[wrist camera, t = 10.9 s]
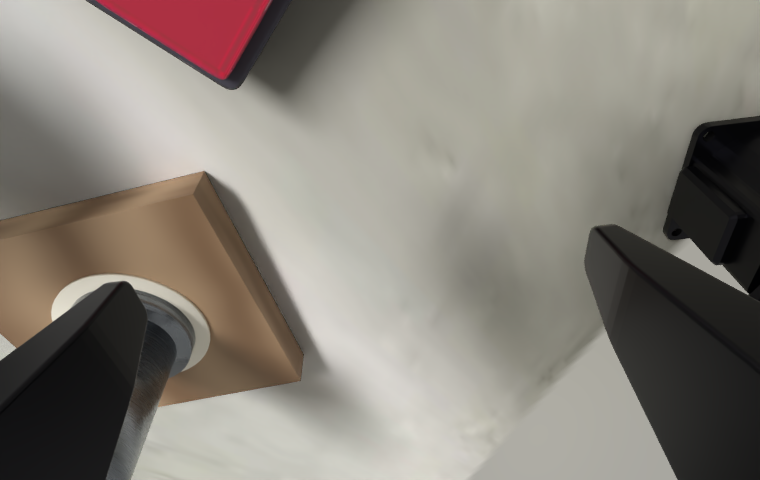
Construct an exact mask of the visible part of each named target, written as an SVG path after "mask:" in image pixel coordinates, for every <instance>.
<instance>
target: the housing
mask: <svg viewBox="0 0 760 480" xmlns="http://www.w3.org/2000/svg"><path fill="white" fill-rule="evenodd" d="M94 291H95V290H94ZM135 291H136V293H137V295H138V296H139V298H140V300H141V301H142V303H143V305H144V306H145V308H146V311H147V316H148V320H147V326H146V331H145V336H144V342H143V347H142V352H141V357H140V362H139V367H138V372H137V378H136V382H135V386H134V390H133V394H132V397H131V401H130V404H129V407H128V411H127V414H126V417H125V420H124V423H123V427H122V430H121V433H120V436H119V439H118V443H117V446H116V449H115V452H114V455H113V459H112V462H111V465H110V468H109V471H108V475H107V478H106V480H131V477H132V475H133V472H134V469H135V467H136V464H137V461H138V458H139V456H140V453H141V450H142V448H143V445H144V442H145V440H146V437H147V434H148V432H149V429H150V426H151V423H152V421H153V418H154V415H155V413H156V410H157V407H158V405H159V402H160V399H161V396H162V394H163V391H164V388H165V386H166V383H167V380H168V378H171V377H173V376H175V375H177V374H178V373H180V372H181V371H182V370H183V369H184V368H185V367H186V366H187V364H188V362H189V360H190V357H191V354H192V351H193V348H194V345H195V338H196V337H195V331H194V328H193V326H192V324H191V322H190V321H189V319H188V318H187V317H186V316H185V315H184V314H183V313H182V312H181V311H180V310H179V309H178V308H177V307H175V306H174V305H172V304H171V303H169V302H168V301H166V300H164V299H162V298H160V297H157V296H155V295H153V294H150V293H147V292H143V291H139V290H135ZM92 292H93V291H92ZM92 292H89V293H87V294H85V295H83V296H81V297H80V298H79V299H77V300H76V302H75V303H74V304H73V305H72V307H73V306H75V305H76V304H77V303H79V302H80V301H81V300H83V299H84V298H85V297H87V296H88V295H89V294H91V293H92ZM72 307H71V308H72ZM71 308H70V309H71Z"/></svg>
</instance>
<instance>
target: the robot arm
mask: <svg viewBox="0 0 760 480" xmlns="http://www.w3.org/2000/svg"><path fill="white" fill-rule="evenodd" d="M707 132H709V134H708V135H707V136H706V137H703V136H704V135H705V134H706V133H707ZM675 229H676V230H675ZM674 230H675V231H674ZM663 232H664V234H665V235H666V236H667V238H668V239H670V240H677V239H686V238H690V239H691V240H692V241H693V242H694V243H695V244H696V245H697V247H698V248H699V249H700V250H701V251H702V252H703V253H704V254H705V256H706V257H707V258H708V259H709V260H710V261H711V262H712V263H713V264H715V265H723V266H724V267H725V268H726V270H727V271H728V272H730V274H731V275H732V276H733V277H734V278H735V279H736V280H737V282H738V283H739V284H740V285H741V286H742V287H743V288H744V289H745V290H746V291H747V292H748V293H749V295H747V294H745V293H743V292H741V291H739V290H737V289H735V288H733V287H732V286H730V285H728V284H726V283H724V282H722V281H720V280H719V279H717V278H715V277H713V276H711V275H709V274H707V273H706V272H704V271H702V270H700V269H698V268H696V267H694V266H692V265H691V264H689V263H687V262H685V261H683V260H681V259H679V258H678V257H676V256H674V255H672V254H670V253H668V252H666V251H665V250H663V249H661V248H659V247H657V246H655V245H653V244H652V243H650V242H648V241H646V240H644V239H642V238H640V237H638V236H637V235H635V234H633V233H631V232H629V231H627V230H625V229H624V228H622V227H620V226H618V225H615V224H609V225H600V226H595V227H593V228H592V229H591V231H590V234H589V239H588V244H587V249H586V254H585V260H584V264H585V271H586V274H587V277H588V280H589V282H590V285H591V288H592V291H593V294H594V297H595V300H596V303H597V306H598V309H599V311H600V314H601V317H602V320H603V323H604V326H605V329H606V331H607V334H608V337H609V339H610V341H611V344H612V346H613V348H614V350H615V352H616V354H617V356H618V359H619V361H620V363H621V365H622V367H623V368H624V371H625V373H626V375H627V377H628V379H629V381H630V383H631V385H632V387H633V389H634V391H635V393H636V395H637V397H638V400H639V402H640V404H641V406H642V408H643V410H644V412H645V414H646V416H647V418H648V420H649V422H650V424H651V426H652V428H653V430H654V432H655V434H656V436H657V438H658V441H659V443H660V445H661V447H662V449H663V451H664V453H665V455H666V457H667V459H668V461H669V463H670V465H671V467H672V469H673V471H674V473H675V475H676V477H677V479H678V480H760V116H756V117H748V118H739V119H731V120H723V121H715V122H707V123H703V124H701V125H700V126H698V127H697V128H696V129H695V131H694V133H693V135H692V138H691V141H690V144H689V148H688V151H687V154H686V157H685V161H684V164H683V167H682V170H681V171H680V173H679V176H678V180H677V183H676V186H675V189H674V192H673V196H672V199H671V202H670V205H669V209H668V215H667V218H666V222H665V225H664V228H663ZM147 320H148V316H147V311H146V308H145V306H144V305H143V303H142V301H141V300H140V298H139V296H138V295H137V293H136V291H135V290H134V288H133V287H132V285H131V284H130V283H129V282H127V281H116V282H108V283H105V284H103V285H101V286H100V287H99V288H97V289H96V290H95V291H93V292H92V293H91V294H89V295H88V296H87V297H85V298H84V299H83V300H81V301H80V302H79V303H77V304H76V305H75V306H73V307H72V308H71V309H69V310H68V311H67V312H65V313H64V314H62V315H61V316H60V317H58V318H57V319H56V320H54V321H53V322H52V323H50V324H49V325H48V326H46V327H45V328H44V329H42V330H41V331H40V332H38V333H37V334H36V335H34V336H33V337H32V338H30V339H29V340H28V341H26V342H25V343H23V344H22V345H21V346H19V347H18V348H17V349H15V350H14V351H13V352H11V353H10V354H9V355H7V356H6V357H5V358H3V359H2V360H1V361H0V480H106V478H107V475H108V471H109V468H110V465H111V462H112V459H113V455H114V452H115V449H116V446H117V443H118V439H119V436H120V433H121V430H122V427H123V423H124V420H125V417H126V414H127V411H128V407H129V404H130V401H131V397H132V394H133V390H134V386H135V382H136V378H137V372H138V367H139V362H140V357H141V352H142V347H143V342H144V336H145V331H146V326H147Z"/></svg>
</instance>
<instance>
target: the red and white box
mask: <svg viewBox="0 0 760 480" xmlns="http://www.w3.org/2000/svg"><path fill="white" fill-rule="evenodd" d="M86 1H87V2H89V3H91V4H92V5H94V6H95V7H97V8H99V9H100V10H102V11H103V12H105V13H106V14H108V15H110V16H111V17H113V18H114V19H116V20H118V21H119V22H121V23H122V24H124V25H125V26H127V27H129V28H130V29H132V30H133V31H135V32H137V33H138V34H140V35H141V36H143V37H144V38H146V39H148V40H149V41H151V42H152V43H154V44H156V45H157V46H159V47H160V48H162V49H163V50H165V51H167V52H168V53H170V54H171V55H173V56H175V57H176V58H178V59H179V60H181V61H182V62H184V63H186V64H187V65H189V66H190V67H192V68H194V69H195V70H197V71H198V72H200V73H201V74H203V75H205V76H206V77H208V78H209V79H211V80H213V81H214V82H216V83H217V84H219V85H221V86H222V87H224V88H226V89H229V90H234V89H237V88H239V87H240V86H241V85H242V83H243V82H244V80H245V78H246V77H247V75H248V73H249V72H250V70H251V68H252V67H253V65H254V63H255V62H256V60H257V58H258V56H259V55H260V53H261V51H262V50H263V48H264V46H265V45H266V43H267V41H268V40H269V38H270V36H271V34H272V33H273V31H274V29H275V28H276V26H277V24H278V23H279V21H280V19H281V18H282V16H283V14H284V13H285V11H286V9H287V7H288V6H289V4H290V2H291V1H292V0H86Z"/></svg>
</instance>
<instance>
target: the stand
mask: <svg viewBox="0 0 760 480" xmlns="http://www.w3.org/2000/svg"><path fill="white" fill-rule="evenodd" d="M116 281H127V282H129V283H130V284H131V285H132V287H133V288H134V290H139V291H143V292H147V293H150V294H153V295H155V296H157V297H160V298H162V299H164V300H166V301H168V302H169V303H171V304H172V305H174V306H175V307H177V308H178V309H179V310H180V311H181V312H182V313H183V314H184V315H185V316H186V317H187V318H188V319H189V321H190V322H191V324H192V326H193V328H194V331H195V337H196V338H195V345H194V348H193V351H192V354H191V357H190V360H189V362H188V364H187V366H186V367H185V368H184V369H183V370H182V371H181V372H180V373H178V374H177V375H175V376H173V377H171V378H168V380H167V383H166V386H165V388H164V391H163V394H162V396H161V399H160V402H159V405H158V407H160V406H166V405H171V404H177V403H182V402H188V401H193V400H199V399H204V398H210V397H215V396H220V395H226V394H231V393H237V392H242V391H248V390H253V389H259V388H264V387H270V386H275V385H281V384H286V383H292V382H297V381H301V374H302V365H303V355H304V354H303V353H302V351H301V349H300V347H299V345H298V343H297V342H296V340H295V338H294V336H293V334H292V332H291V330H290V329H289V327H288V325H287V323H286V321H285V319H284V317H283V316H282V314H281V312H280V310H279V308H278V306H277V305H276V303H275V301H274V299H273V297H272V295H271V293H270V292H269V290H268V288H267V286H266V284H265V282H264V280H263V279H262V277H261V275H260V273H259V271H258V269H257V268H256V266H255V264H254V262H253V260H252V258H251V256H250V255H249V253H248V251H247V249H246V247H245V245H244V243H243V242H242V240H241V238H240V236H239V234H238V232H237V231H236V229H235V227H234V225H233V223H232V221H231V219H230V218H229V216H228V214H227V212H226V210H225V208H224V207H223V205H222V203H221V201H220V199H219V197H218V195H217V194H216V192H215V190H214V188H213V186H212V184H211V182H210V181H209V179H208V177H207V175H206V173H205V171H203V172H199V173H195V174H191V175H187V176H182V177H178V178H174V179H170V180H166V181H162V182H158V183H154V184H149V185H145V186H141V187H137V188H133V189H129V190H125V191H121V192H116V193H112V194H108V195H104V196H100V197H96V198H92V199H88V200H83V201H79V202H75V203H71V204H67V205H63V206H59V207H55V208H50V209H46V210H42V211H38V212H34V213H30V214H26V215H22V216H18V217H13V218H9V219H5V220H1V221H0V334H1V335H3V336H4V337H5V338H6V339H7V340H8V341H9V342H10V343H11V344H13V345H14V346H15V347H16V348H18V347H19V346H21V345H22V344H23V343H25V342H26V341H28V340H29V339H30V338H32V337H33V336H34V335H36V334H37V333H38V332H40V331H41V330H42V329H44V328H45V327H46V326H48V325H49V324H50V323H52V322H53V321H54V320H56V319H57V318H58V317H60V316H61V315H62V314H64V313H65V312H67V311H68V310H69V309H70V308H71V307H72V305H73V304H74V303H75V302H76V300H77V299H79V298H80V297H81V296H83V295H85V294H87V293H89V292H92V291H94V290H96V289H97V288H99V287H100V286H101V285H103V284H105V283H108V282H116Z"/></svg>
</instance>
